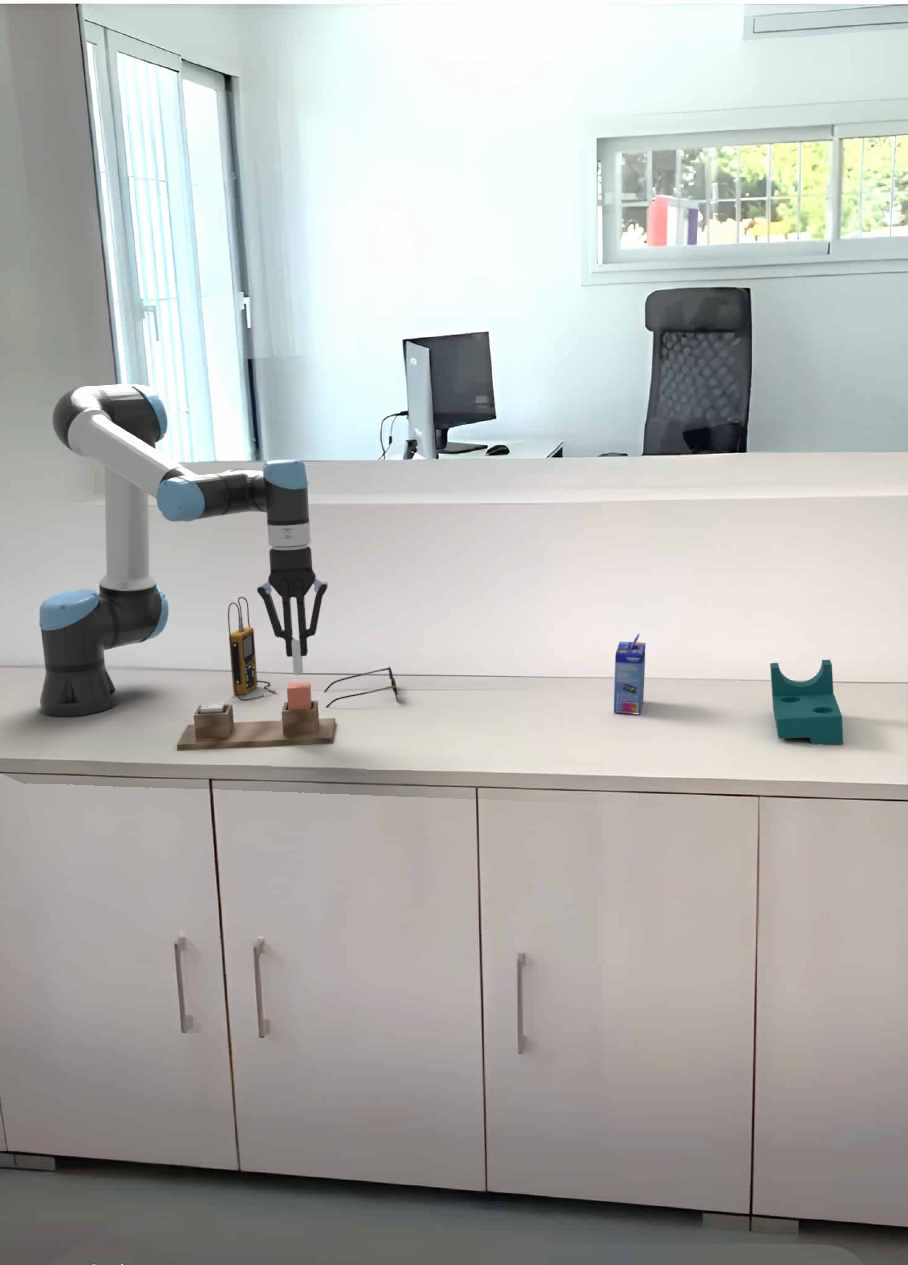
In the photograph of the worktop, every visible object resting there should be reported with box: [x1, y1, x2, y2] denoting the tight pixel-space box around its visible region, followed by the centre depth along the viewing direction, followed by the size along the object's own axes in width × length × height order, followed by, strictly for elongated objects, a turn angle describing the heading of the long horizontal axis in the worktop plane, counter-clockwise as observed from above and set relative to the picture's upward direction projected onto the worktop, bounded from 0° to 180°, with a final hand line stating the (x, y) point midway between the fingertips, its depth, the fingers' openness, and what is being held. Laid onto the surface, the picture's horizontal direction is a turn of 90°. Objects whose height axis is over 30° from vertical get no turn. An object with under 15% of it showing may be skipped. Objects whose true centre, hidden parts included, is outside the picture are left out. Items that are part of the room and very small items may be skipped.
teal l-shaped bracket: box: [769, 659, 844, 745], centre depth 210 cm, size 18×11×10 cm, turn 168°
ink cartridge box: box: [613, 633, 646, 714], centre depth 225 cm, size 10×6×14 cm, turn 167°
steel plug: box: [200, 701, 226, 714], centre depth 215 cm, size 4×4×5 cm
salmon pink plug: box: [286, 681, 312, 710], centre depth 215 cm, size 4×4×5 cm
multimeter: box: [227, 596, 280, 701], centre depth 244 cm, size 15×10×20 cm
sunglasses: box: [323, 666, 398, 708], centre depth 239 cm, size 14×15×5 cm
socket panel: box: [176, 699, 336, 751], centre depth 216 cm, size 28×12×6 cm, turn 93°
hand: (298, 673), depth 214 cm, fingers closed
